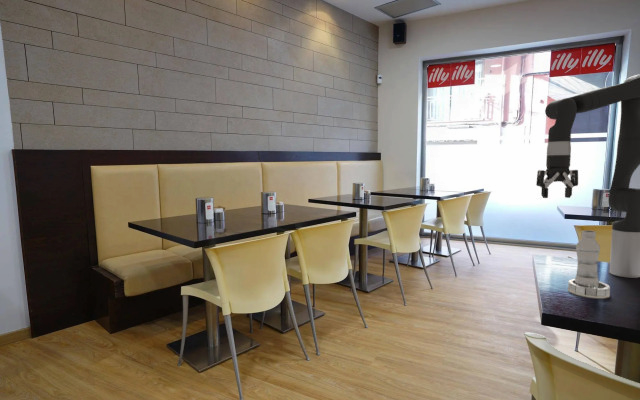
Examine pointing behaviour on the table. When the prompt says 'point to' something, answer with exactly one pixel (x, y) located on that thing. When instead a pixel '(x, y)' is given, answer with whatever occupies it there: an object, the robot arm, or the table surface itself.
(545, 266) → the table surface
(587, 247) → the plastic bottle
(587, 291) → the ring holder
